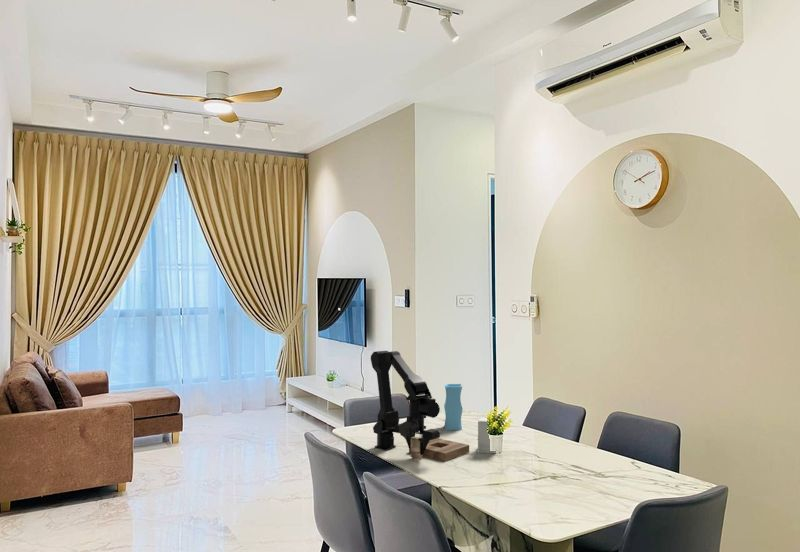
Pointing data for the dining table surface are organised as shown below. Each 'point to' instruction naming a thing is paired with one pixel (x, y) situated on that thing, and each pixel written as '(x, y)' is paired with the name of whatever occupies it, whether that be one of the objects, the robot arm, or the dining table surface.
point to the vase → (453, 407)
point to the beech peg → (415, 448)
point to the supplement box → (483, 437)
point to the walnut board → (445, 449)
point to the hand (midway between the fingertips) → (416, 453)
